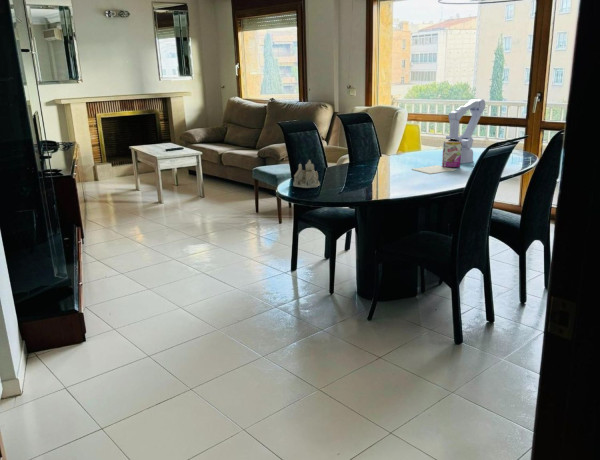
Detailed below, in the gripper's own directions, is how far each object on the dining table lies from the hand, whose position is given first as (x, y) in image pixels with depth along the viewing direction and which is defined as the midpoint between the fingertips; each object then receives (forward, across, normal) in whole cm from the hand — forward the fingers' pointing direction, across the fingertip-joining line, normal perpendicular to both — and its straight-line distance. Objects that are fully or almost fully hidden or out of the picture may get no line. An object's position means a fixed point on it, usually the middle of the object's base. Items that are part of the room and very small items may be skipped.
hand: (453, 150), depth 361 cm
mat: (+10, +7, -20) cm, 23 cm away
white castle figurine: (+14, -1, -105) cm, 106 cm away
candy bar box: (+10, +6, -6) cm, 13 cm away
